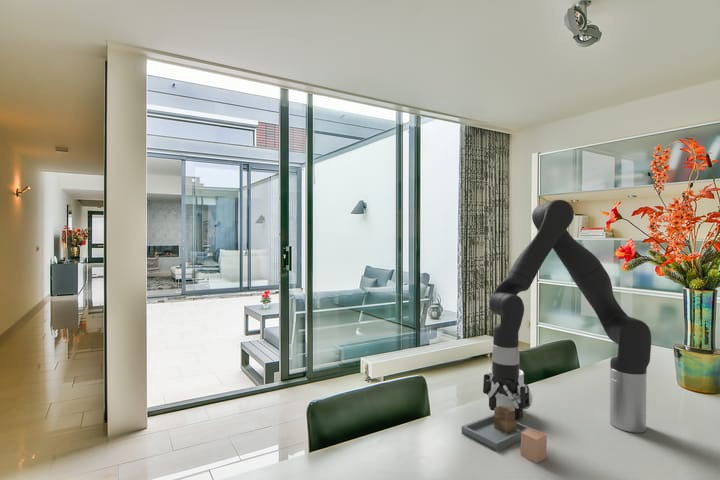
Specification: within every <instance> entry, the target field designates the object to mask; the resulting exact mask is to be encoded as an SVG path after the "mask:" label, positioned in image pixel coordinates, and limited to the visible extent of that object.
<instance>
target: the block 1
mask: <svg viewBox="0 0 720 480" xmlns="http://www.w3.org/2000/svg"><path fill="white" fill-rule="evenodd" d="M493 411H494V412H493V414H494V428H495V429H497V430H499V431H502V432H504V433H506V434H509V433H511V432H513V431H516V430H517V422H518V421H516V420H515V409H514V408H511V407H509V406H506V405H501V406H498V407H495V408H494V410H493Z"/></svg>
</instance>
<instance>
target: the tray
mask: <svg viewBox="0 0 720 480" xmlns="http://www.w3.org/2000/svg"><path fill="white" fill-rule="evenodd" d="M530 428H531V427H529V426H527V425H524V424H522V423H520V422H519V421H517V430H516V431H513V432H511V433H509V434H506V433H504V432H502V431H499V430H497V429H495V428H494V413H493V414H490V415H488V416H485V417H483V418H480V419H478V420H475V421H472V422H469V423H467V424H464V425H461V434H463V435H464V436H466V437H469V438H470V439H472V440H473V441H474V440H475V441H477V442H478V443H480V444H482V445H484V446H486V447H488V448H489V449H492V450H493V451H495V452H498V451H500V450H502V449H504V448H506V447H508V446H511V445H513V444H514V443H517V442H519V441H520V442H521V432H523V431H525V430H528V429H530Z"/></svg>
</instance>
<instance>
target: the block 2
mask: <svg viewBox="0 0 720 480" xmlns="http://www.w3.org/2000/svg"><path fill="white" fill-rule="evenodd" d="M547 439H548V436H547V434H546V433H544V432H541V431H540V430H536V429H534V428H531V427H530V429H528V430H525V431H523V432H521V440H520V456H521V457H524V458H526V459H527V460H530V461H532V462H534V463H536V464H537V463H539V462H541V461H544V460H545V459H547V455H548V454H547V452H548V451H547V449H548V448H547V447H548V446H547V445H548V443H547V441H548V440H547Z"/></svg>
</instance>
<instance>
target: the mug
mask: <svg viewBox="0 0 720 480" xmlns="http://www.w3.org/2000/svg"><path fill="white" fill-rule="evenodd" d="M488 373H491V374H492V366H490V367H489V368H488ZM492 375H493V374H492ZM524 381H525V373H524V371H523V370H522V369H520V368H519V378H518V383H519V385H522V386H525V385H526V384H525V382H524ZM493 387H494V383H493V381H492V386H491V389H492V388H493ZM518 392H519V389H518ZM519 394H520V393H519ZM513 396H515V394H514V395H513ZM495 397H496V407H498V406H501V405H506V406H509V407H511V408H514V409H515V405H514V403H513V401H511V400H510V398H509V396H505V395H504V394H500V393H499V392H498V394H497V395H496V396H495ZM529 403H530V406H529V407H526V408H523V411H525V410H528V409H530V408H531V407H532V403H533V395H532V391H531V390H530V388H529Z"/></svg>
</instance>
